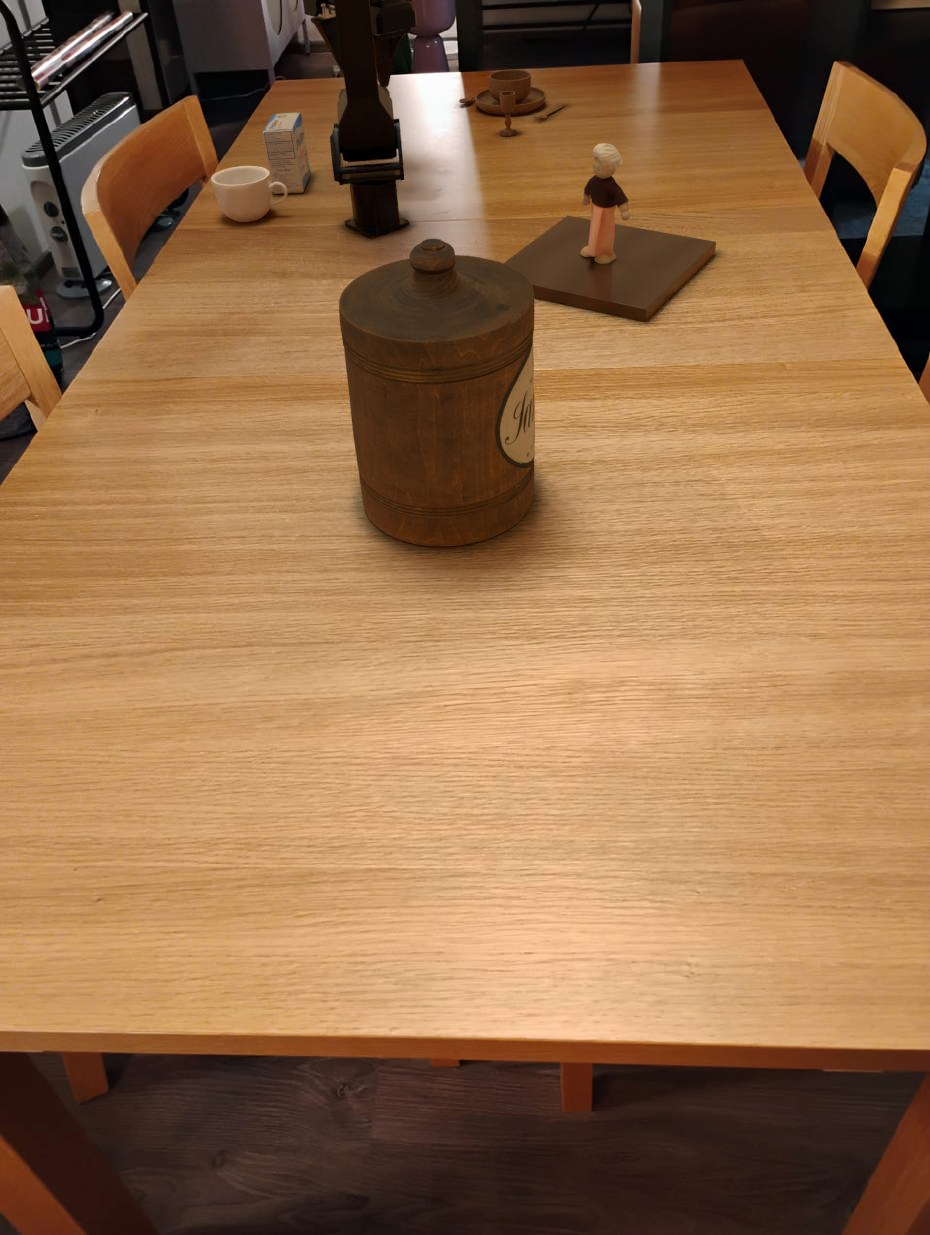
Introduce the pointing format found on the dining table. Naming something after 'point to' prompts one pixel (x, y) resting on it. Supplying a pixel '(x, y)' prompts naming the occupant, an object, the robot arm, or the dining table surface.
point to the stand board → (611, 268)
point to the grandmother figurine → (604, 203)
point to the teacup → (245, 192)
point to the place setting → (510, 96)
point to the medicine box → (287, 152)
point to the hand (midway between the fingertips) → (365, 80)
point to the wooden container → (442, 394)
